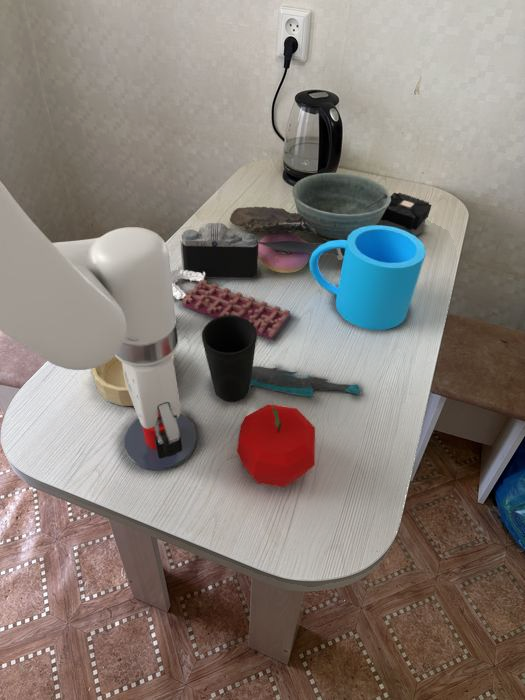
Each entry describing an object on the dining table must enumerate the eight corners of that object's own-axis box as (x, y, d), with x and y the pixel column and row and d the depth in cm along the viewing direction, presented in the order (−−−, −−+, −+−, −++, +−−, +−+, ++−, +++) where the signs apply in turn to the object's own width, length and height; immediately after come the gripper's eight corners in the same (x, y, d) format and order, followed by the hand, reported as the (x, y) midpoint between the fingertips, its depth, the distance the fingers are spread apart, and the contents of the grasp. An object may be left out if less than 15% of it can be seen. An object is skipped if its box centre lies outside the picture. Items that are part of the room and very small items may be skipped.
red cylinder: (150, 454, 69) (145, 429, 65) (141, 431, 72) (136, 406, 68) (179, 444, 70) (176, 419, 66) (170, 422, 73) (166, 396, 69)
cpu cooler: (371, 228, 116) (412, 243, 112) (376, 205, 112) (419, 220, 108) (389, 210, 122) (429, 224, 119) (395, 188, 118) (436, 202, 115)
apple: (323, 490, 67) (333, 445, 60) (244, 505, 65) (245, 460, 58) (300, 426, 74) (307, 380, 67) (229, 438, 72) (229, 392, 65)
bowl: (334, 269, 103) (342, 226, 96) (270, 226, 115) (272, 184, 108) (400, 238, 113) (411, 197, 106) (335, 201, 124) (341, 161, 117)
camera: (256, 260, 104) (258, 216, 97) (257, 279, 100) (259, 235, 93) (184, 258, 104) (181, 214, 97) (182, 278, 99) (178, 233, 92)
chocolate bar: (201, 284, 98) (200, 276, 96) (289, 316, 92) (290, 308, 90) (180, 304, 93) (179, 296, 92) (271, 340, 87) (272, 331, 86)
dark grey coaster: (135, 481, 66) (135, 479, 66) (116, 425, 73) (116, 423, 72) (206, 455, 70) (206, 453, 69) (183, 404, 76) (182, 401, 76)
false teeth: (182, 266, 100) (181, 258, 98) (207, 281, 99) (208, 272, 97) (156, 291, 96) (155, 282, 94) (182, 306, 95) (182, 298, 93)
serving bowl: (106, 418, 74) (101, 400, 71) (88, 363, 81) (83, 345, 79) (185, 393, 78) (184, 375, 75) (161, 343, 86) (159, 325, 83)
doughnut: (316, 272, 103) (320, 256, 100) (267, 281, 100) (269, 264, 97) (295, 240, 110) (298, 224, 106) (248, 247, 106) (250, 230, 103)
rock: (291, 223, 117) (227, 223, 115) (292, 206, 116) (227, 206, 113) (322, 235, 94) (242, 235, 91) (323, 214, 93) (243, 214, 90)
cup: (255, 408, 76) (256, 355, 67) (205, 406, 76) (198, 353, 67) (256, 369, 81) (257, 315, 72) (209, 368, 81) (204, 314, 72)
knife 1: (389, 266, 106) (381, 249, 109) (393, 260, 105) (385, 243, 108) (258, 256, 95) (253, 237, 98) (261, 249, 94) (256, 230, 97)
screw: (383, 196, 105) (385, 192, 105) (387, 199, 105) (389, 195, 104) (361, 208, 101) (363, 205, 100) (365, 212, 101) (367, 208, 100)
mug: (412, 296, 98) (431, 236, 89) (398, 338, 89) (418, 276, 80) (316, 270, 103) (325, 210, 94) (294, 308, 94) (301, 246, 85)
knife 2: (358, 409, 77) (361, 385, 80) (359, 404, 76) (362, 381, 80) (205, 378, 80) (214, 356, 84) (204, 373, 80) (214, 352, 83)
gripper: (94, 298, 62) (116, 392, 74) (131, 398, 51) (151, 488, 63) (153, 284, 64) (166, 377, 76) (201, 376, 53) (207, 467, 65)
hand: (159, 427), depth 69 cm, fingers open, 8 cm apart
